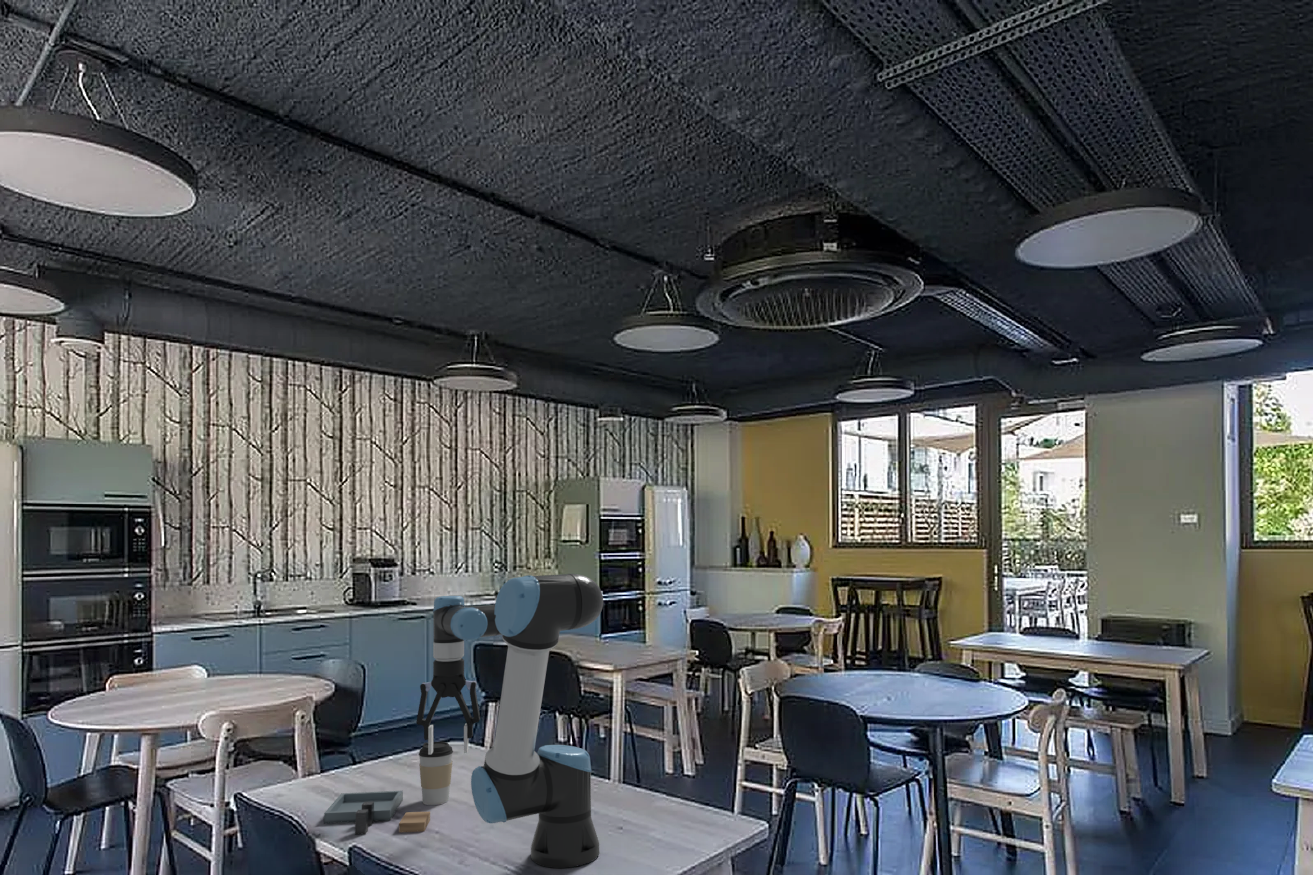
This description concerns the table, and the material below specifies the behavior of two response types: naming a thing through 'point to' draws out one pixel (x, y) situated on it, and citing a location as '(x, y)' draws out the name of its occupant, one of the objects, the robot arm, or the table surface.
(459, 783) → the table surface
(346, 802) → the tray
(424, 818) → the wooden block
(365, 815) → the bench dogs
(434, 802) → the coffee cup
